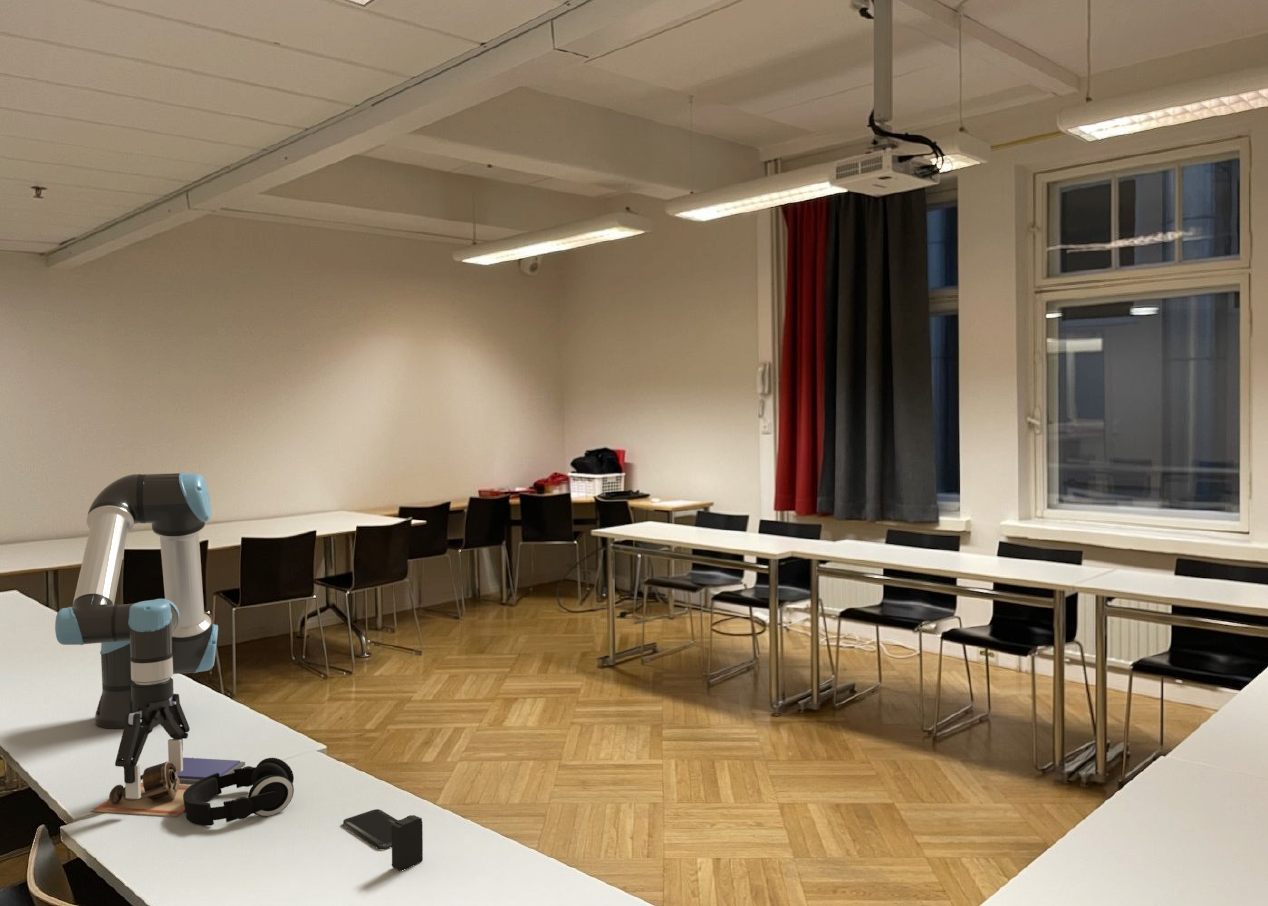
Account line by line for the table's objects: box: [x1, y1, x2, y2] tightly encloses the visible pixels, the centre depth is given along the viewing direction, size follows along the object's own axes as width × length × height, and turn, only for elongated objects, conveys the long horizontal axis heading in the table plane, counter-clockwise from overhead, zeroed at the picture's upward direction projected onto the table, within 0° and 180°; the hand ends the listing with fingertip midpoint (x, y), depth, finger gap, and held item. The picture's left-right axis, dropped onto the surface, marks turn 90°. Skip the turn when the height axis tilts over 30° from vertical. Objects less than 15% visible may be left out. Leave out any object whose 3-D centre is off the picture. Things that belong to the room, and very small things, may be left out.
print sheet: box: [90, 782, 191, 818], centre depth 194 cm, size 14×18×1 cm
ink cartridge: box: [391, 814, 424, 872], centre depth 167 cm, size 5×2×8 cm, turn 141°
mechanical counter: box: [108, 760, 181, 804], centre depth 194 cm, size 7×13×10 cm
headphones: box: [183, 757, 295, 827], centre depth 190 cm, size 18×8×20 cm
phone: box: [342, 809, 399, 850], centre depth 180 cm, size 8×1×15 cm
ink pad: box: [176, 757, 246, 784], centre depth 208 cm, size 11×16×1 cm
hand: (155, 784), depth 194 cm, fingers open, 13 cm apart
